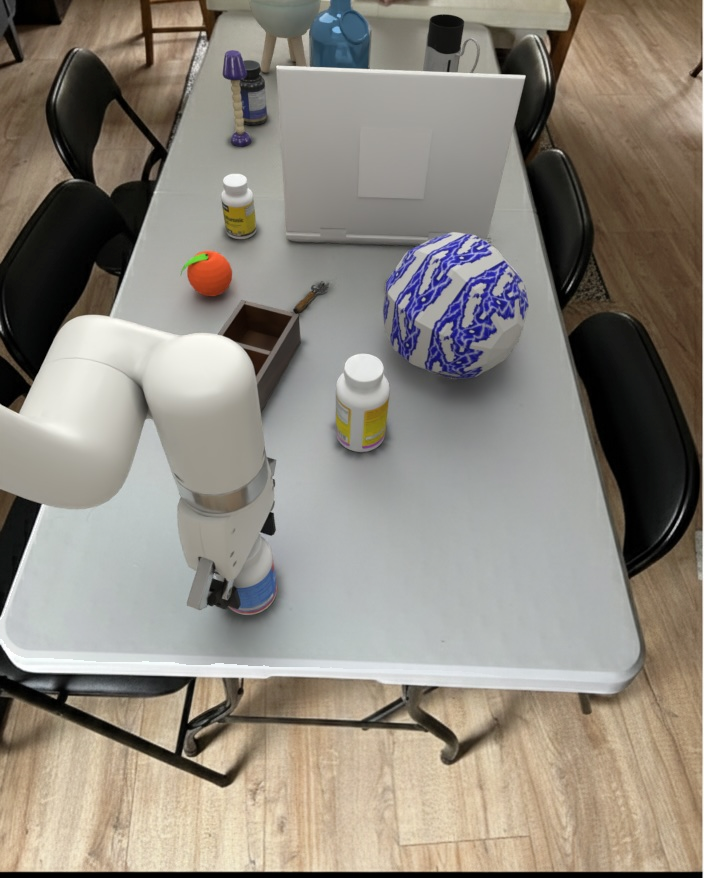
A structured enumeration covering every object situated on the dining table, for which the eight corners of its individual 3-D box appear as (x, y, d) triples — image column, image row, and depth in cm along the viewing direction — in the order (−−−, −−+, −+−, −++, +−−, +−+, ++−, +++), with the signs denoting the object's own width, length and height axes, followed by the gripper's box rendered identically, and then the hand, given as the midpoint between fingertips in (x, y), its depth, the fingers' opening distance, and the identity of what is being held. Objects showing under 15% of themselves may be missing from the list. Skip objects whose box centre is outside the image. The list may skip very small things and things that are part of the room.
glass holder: (435, 82, 149) (445, 10, 137) (481, 103, 143) (495, 30, 131) (410, 92, 146) (418, 19, 134) (456, 114, 140) (468, 40, 128)
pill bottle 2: (288, 594, 69) (282, 548, 60) (242, 627, 67) (229, 584, 58) (257, 554, 72) (247, 505, 63) (212, 585, 70) (195, 537, 61)
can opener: (298, 315, 97) (297, 310, 96) (286, 309, 98) (286, 303, 97) (333, 287, 102) (333, 281, 101) (321, 281, 102) (321, 275, 101)
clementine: (192, 312, 97) (184, 275, 91) (179, 286, 101) (170, 249, 95) (241, 298, 99) (235, 261, 94) (226, 273, 103) (220, 236, 97)
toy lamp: (230, 135, 131) (219, 48, 117) (252, 134, 131) (244, 47, 118) (231, 147, 128) (220, 58, 115) (254, 146, 128) (245, 57, 115)
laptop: (469, 171, 125) (500, 8, 102) (485, 251, 109) (526, 78, 86) (296, 165, 124) (289, -1, 102) (286, 244, 108) (275, 69, 86)
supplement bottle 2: (390, 421, 85) (398, 354, 75) (378, 459, 81) (385, 393, 71) (343, 410, 86) (345, 342, 76) (329, 447, 82) (329, 380, 72)
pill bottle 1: (235, 115, 136) (229, 60, 127) (261, 110, 138) (257, 56, 129) (244, 128, 133) (239, 73, 124) (271, 123, 134) (267, 68, 126)
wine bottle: (298, 98, 142) (293, -66, 118) (345, 84, 147) (348, -76, 123) (334, 122, 136) (335, -46, 112) (381, 106, 141) (392, -58, 117)
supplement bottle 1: (219, 234, 110) (211, 182, 102) (238, 219, 112) (231, 167, 105) (244, 244, 108) (238, 192, 100) (262, 228, 111) (258, 177, 103)
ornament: (446, 364, 72) (336, 276, 80) (462, 429, 89) (371, 351, 98) (563, 250, 73) (443, 176, 82) (557, 335, 91) (458, 267, 100)
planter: (321, 85, 146) (320, -29, 129) (252, 84, 145) (242, -31, 128) (320, 56, 156) (319, -54, 138) (256, 55, 155) (247, -56, 137)
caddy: (191, 409, 85) (184, 381, 81) (245, 328, 95) (241, 299, 91) (252, 427, 83) (248, 400, 79) (300, 342, 94) (299, 314, 89)
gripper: (226, 382, 56) (246, 487, 70) (122, 544, 46) (170, 630, 60) (303, 404, 55) (308, 507, 69) (214, 576, 45) (241, 656, 59)
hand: (244, 564), depth 64 cm, fingers open, 8 cm apart
